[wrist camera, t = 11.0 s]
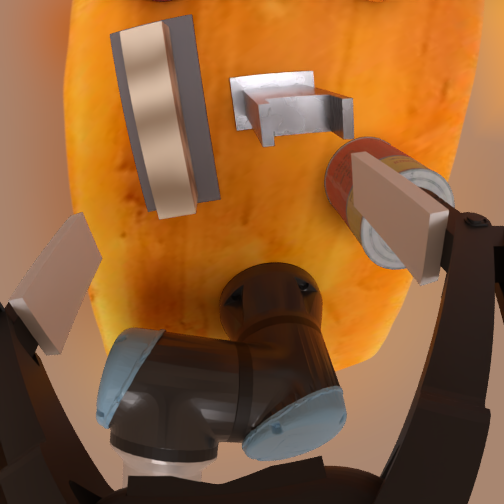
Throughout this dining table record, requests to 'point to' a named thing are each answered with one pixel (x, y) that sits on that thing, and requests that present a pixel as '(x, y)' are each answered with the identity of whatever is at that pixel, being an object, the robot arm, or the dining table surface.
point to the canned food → (342, 191)
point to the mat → (191, 109)
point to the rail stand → (289, 106)
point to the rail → (160, 118)
